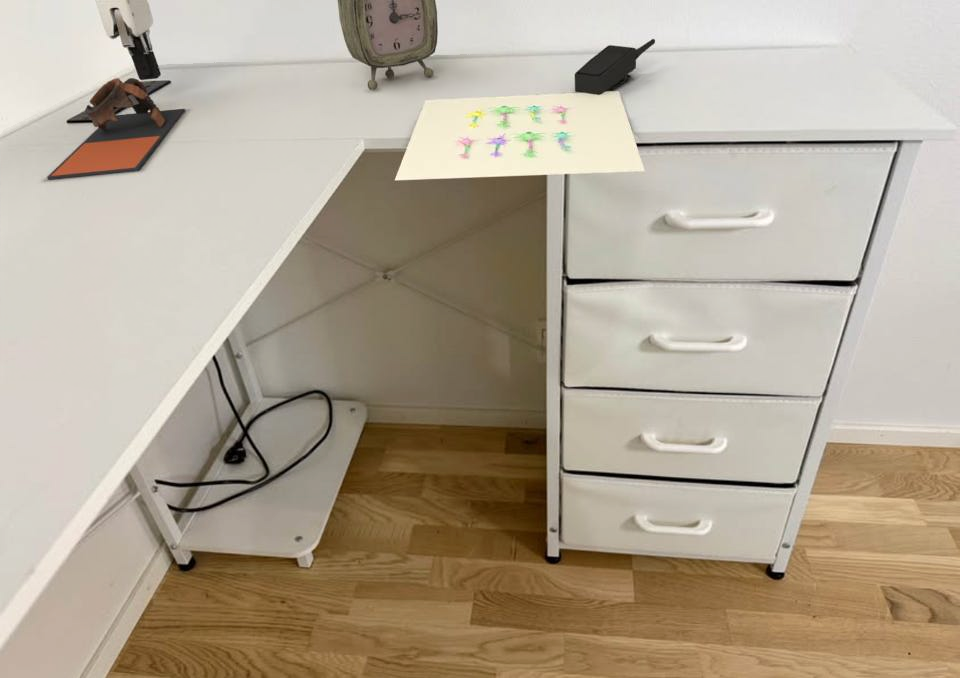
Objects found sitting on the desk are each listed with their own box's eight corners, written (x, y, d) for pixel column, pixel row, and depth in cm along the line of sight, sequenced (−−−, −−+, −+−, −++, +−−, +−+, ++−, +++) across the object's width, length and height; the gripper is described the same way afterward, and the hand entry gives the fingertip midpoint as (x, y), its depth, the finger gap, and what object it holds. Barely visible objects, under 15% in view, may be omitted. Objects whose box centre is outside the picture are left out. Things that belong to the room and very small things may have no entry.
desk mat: (48, 179, 91) (46, 176, 91) (111, 118, 112) (110, 115, 112) (138, 170, 92) (137, 167, 91) (185, 110, 113) (184, 108, 112)
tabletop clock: (366, 95, 113) (338, -80, 98) (347, 83, 120) (318, -82, 105) (443, 78, 119) (427, -91, 104) (420, 67, 125) (402, -92, 110)
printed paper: (425, 102, 106) (424, 92, 106) (618, 93, 104) (619, 83, 103) (395, 182, 83) (393, 171, 82) (644, 173, 80) (645, 161, 79)
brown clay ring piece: (164, 136, 103) (117, 94, 97) (120, 165, 106) (72, 127, 100) (176, 93, 110) (133, 52, 104) (135, 121, 113) (90, 83, 107)
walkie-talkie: (562, 81, 105) (623, 39, 116) (587, 112, 106) (645, 67, 117) (586, 55, 100) (647, 13, 111) (612, 88, 101) (670, 44, 112)
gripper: (99, -50, 109) (141, 68, 120) (63, -37, 97) (113, 93, 108) (146, -54, 110) (183, 64, 121) (116, -42, 98) (161, 88, 109)
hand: (150, 77), depth 114 cm, fingers closed
